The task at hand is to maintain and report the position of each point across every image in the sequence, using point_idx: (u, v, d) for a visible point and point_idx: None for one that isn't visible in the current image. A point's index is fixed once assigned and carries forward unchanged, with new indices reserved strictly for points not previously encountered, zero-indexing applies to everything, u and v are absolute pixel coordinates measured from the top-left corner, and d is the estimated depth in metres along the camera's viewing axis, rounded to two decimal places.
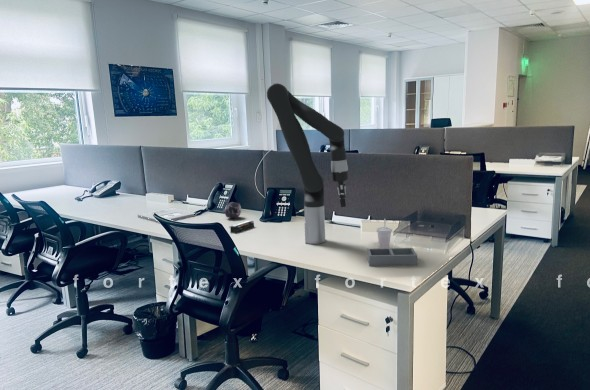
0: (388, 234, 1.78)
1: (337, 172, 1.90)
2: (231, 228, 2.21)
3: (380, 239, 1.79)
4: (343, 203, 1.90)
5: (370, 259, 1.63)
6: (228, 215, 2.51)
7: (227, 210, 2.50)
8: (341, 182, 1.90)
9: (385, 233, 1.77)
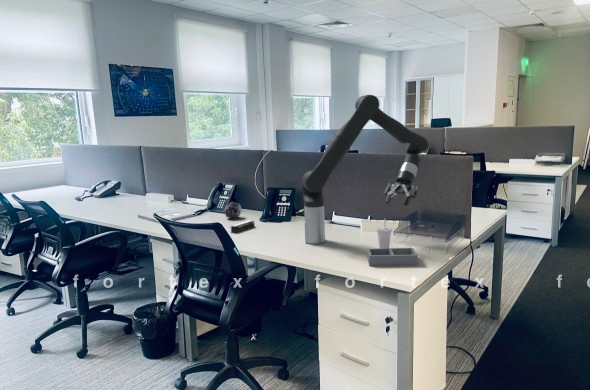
0: (388, 234, 1.78)
1: (413, 174, 1.89)
2: (232, 228, 2.21)
3: (380, 239, 1.79)
4: (408, 202, 1.83)
5: (370, 259, 1.63)
6: (228, 215, 2.51)
7: (227, 210, 2.50)
8: (411, 184, 1.88)
9: (385, 233, 1.77)
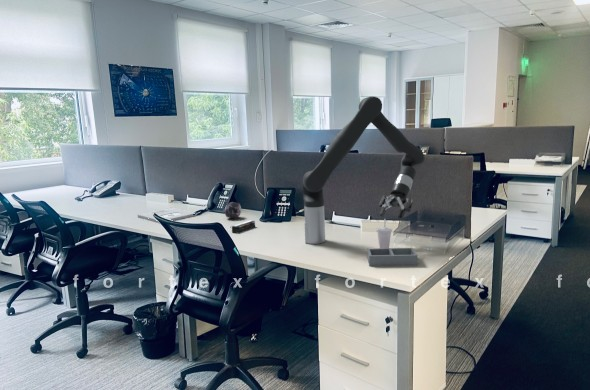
0: (388, 234, 1.78)
1: (408, 187, 1.87)
2: (233, 228, 2.21)
3: (380, 239, 1.79)
4: (403, 215, 1.81)
5: (370, 259, 1.63)
6: (228, 215, 2.51)
7: (227, 210, 2.50)
8: (406, 197, 1.86)
9: (385, 233, 1.77)
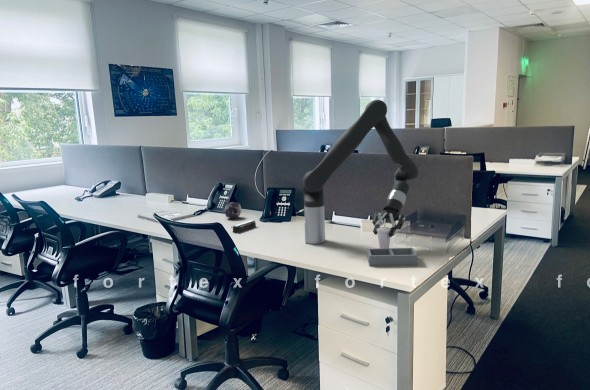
0: None
1: (401, 202, 1.82)
2: (233, 228, 2.21)
3: (380, 239, 1.79)
4: (393, 233, 1.77)
5: (370, 259, 1.63)
6: (228, 215, 2.51)
7: (227, 210, 2.50)
8: (399, 213, 1.81)
9: (385, 233, 1.77)
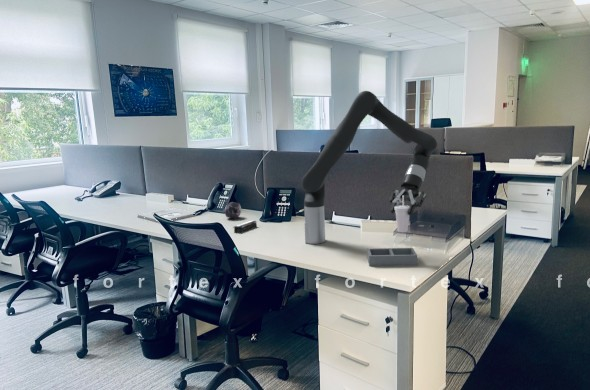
0: (407, 212, 1.61)
1: (421, 178, 1.66)
2: (235, 228, 2.21)
3: (398, 218, 1.63)
4: (413, 211, 1.61)
5: (370, 259, 1.63)
6: (228, 215, 2.51)
7: (227, 210, 2.50)
8: (419, 190, 1.65)
9: (404, 211, 1.61)
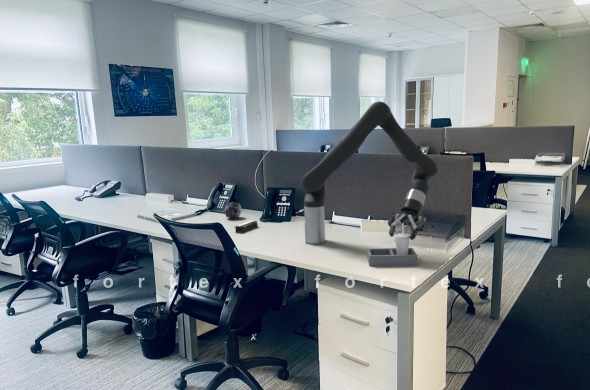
0: (407, 240, 1.63)
1: (420, 203, 1.68)
2: (236, 228, 2.21)
3: (398, 246, 1.65)
4: (415, 235, 1.62)
5: (370, 259, 1.63)
6: (228, 215, 2.51)
7: (227, 210, 2.50)
8: (418, 215, 1.67)
9: (404, 239, 1.63)
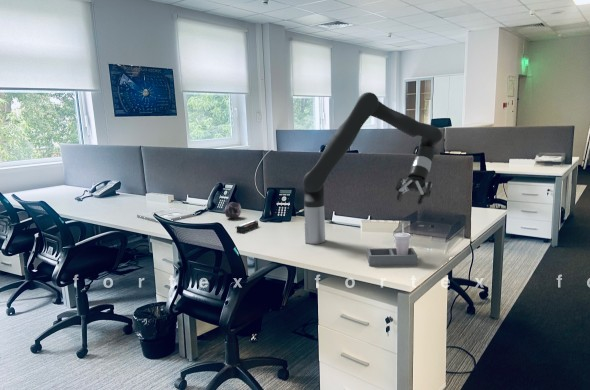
0: (407, 240, 1.63)
1: (427, 169, 1.76)
2: (237, 228, 2.21)
3: (398, 246, 1.65)
4: (422, 201, 1.71)
5: (370, 259, 1.63)
6: (228, 215, 2.51)
7: (227, 210, 2.50)
8: (425, 181, 1.75)
9: (404, 239, 1.63)
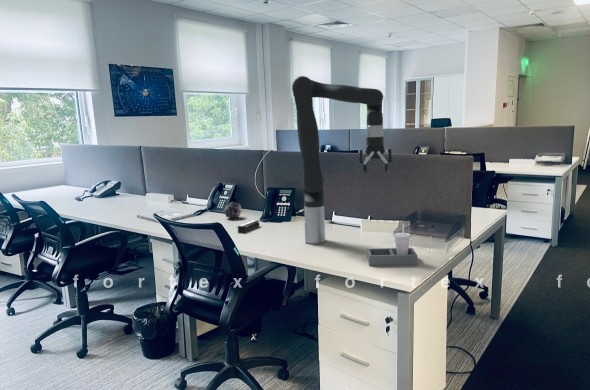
0: (407, 240, 1.63)
1: (383, 136, 1.85)
2: (239, 228, 2.21)
3: (398, 246, 1.65)
4: None
5: (370, 259, 1.63)
6: (228, 215, 2.51)
7: (227, 210, 2.50)
8: (383, 147, 1.88)
9: (404, 239, 1.63)
